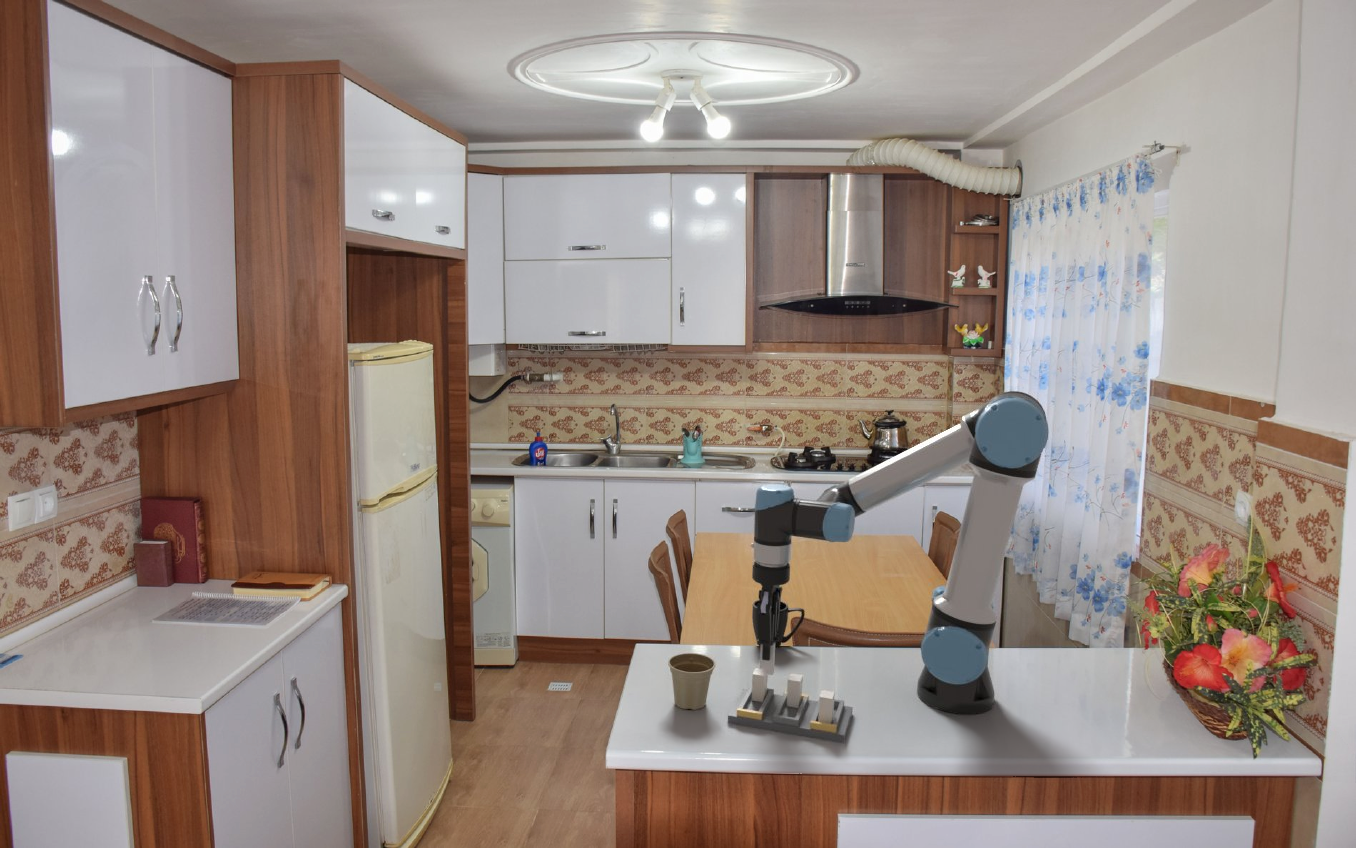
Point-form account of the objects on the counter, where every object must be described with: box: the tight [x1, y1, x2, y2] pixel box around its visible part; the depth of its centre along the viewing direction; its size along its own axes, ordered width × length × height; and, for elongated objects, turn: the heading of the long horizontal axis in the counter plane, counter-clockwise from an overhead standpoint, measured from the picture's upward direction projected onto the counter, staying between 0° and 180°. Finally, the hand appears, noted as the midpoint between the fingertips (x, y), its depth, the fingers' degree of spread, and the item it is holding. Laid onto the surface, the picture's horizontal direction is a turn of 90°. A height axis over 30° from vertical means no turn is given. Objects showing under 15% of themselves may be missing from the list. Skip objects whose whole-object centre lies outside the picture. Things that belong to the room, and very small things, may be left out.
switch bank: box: [727, 685, 854, 744], centre depth 175 cm, size 22×12×3 cm, turn 72°
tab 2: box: [786, 673, 804, 708], centre depth 177 cm, size 2×3×6 cm
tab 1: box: [751, 667, 769, 702], centre depth 179 cm, size 2×3×6 cm
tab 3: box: [818, 689, 835, 724], centre depth 170 cm, size 2×3×6 cm
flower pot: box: [667, 652, 717, 711], centre depth 180 cm, size 9×9×9 cm
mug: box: [751, 599, 805, 649], centre depth 210 cm, size 8×12×10 cm
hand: (766, 672), depth 186 cm, fingers closed
